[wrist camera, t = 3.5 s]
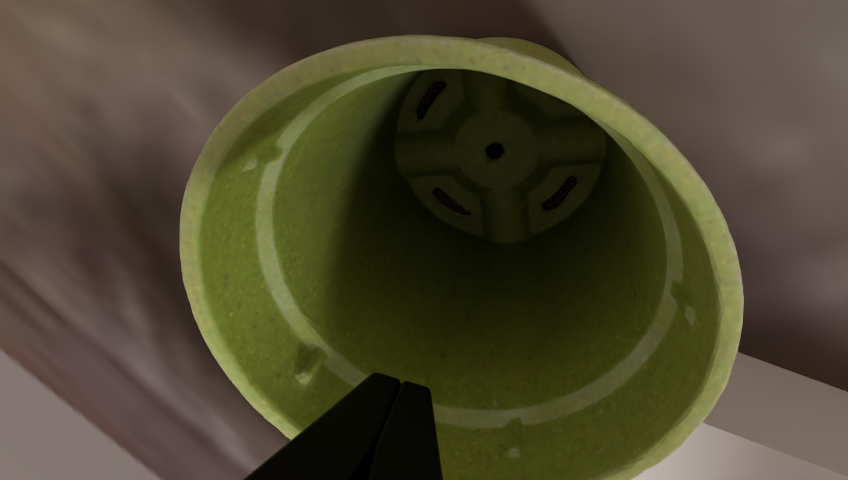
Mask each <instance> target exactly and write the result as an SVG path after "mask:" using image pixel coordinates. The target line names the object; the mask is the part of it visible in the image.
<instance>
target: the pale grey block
mask: <svg viewBox="0 0 848 480" xmlns="http://www.w3.org/2000/svg"><path fill="white" fill-rule="evenodd" d="M632 480H848V392H847V391H844V390H841V389H838V388H836V387H833V386H830V385H827V384H825V383H822V382H819V381H816V380H814V379H811V378H808V377H805V376H803V375H800V374H797V373H794V372H792V371H789V370H786V369H783V368H781V367H778V366H775V365H772V364H770V363H767V362H764V361H761V360H758V359H756V358H753V357H750V356H747V355H745V354H742V353H739V352H737V355H736V357H735V360H734V363H733V367H732V370H731V374H730V377H729V380H728V383H727V385H726V388H725V389H724V391H723V392H722V394H721V396H720V397H719V399H718V401H717V402H716V404H715V406H714V408H713V409H712V411H711V412H710V413H709V415H708V416H707V417H706V418H705V420H704V421H703V422H702V423H701V424H700V426H699V427H697V428H696V429H695V430H694V431H693V432H692V434H691V435H690V436H689V437H688V438H687V439H686V441H685V442H684V443H683V444H682V445H681V446H680V447H679V448H678V449H677V450H675V451H674V452H673V453H671V454H670V455H669V456H668V457H667V458H665V459H664V460H663V461H662V462H660V463H659V464H657V465H656V466H653V467H651V468H649V469H647V470H645V471H643V472H642V473H641V474H640V475H638V476H637V477H636V478H634V479H632Z"/></svg>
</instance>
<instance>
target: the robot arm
mask: <svg viewBox="0 0 848 480" xmlns="http://www.w3.org/2000/svg"><path fill="white" fill-rule="evenodd" d="M243 480H443V475H442V468H441V460H440V453H439V446H438V439H437V432H436V424H435V417H434V410H433V403H432V396H431V391H430V389H429V388H428V387H426V386H423V385H419V384H416V383H412V382H409V381H404V382H403V383H401V382H400V380H399V379H398V378H395V377H392V376H388V375H385V374H381V373H377V372H376V373H372V374H371V375H370V376H368V377H367V378H366V379H365V380H363V381H362V382H361V383H360V384H359V385H357V386H356V387H355V388H354V389H352V390H351V391H350V392H349V393H348V394H346V395H345V396H344V397H343V398H342V399H340V400H339V401H338V402H337V403H335V404H334V405H333V406H332V407H331V408H329V409H328V410H327V411H326V412H325V413H323V414H322V415H321V416H320V417H319V418H317V419H316V420H315V421H314V422H312V423H311V424H310V425H309V426H308V427H306V428H305V429H304V430H303V431H302V432H300V433H299V434H298V435H297V436H295V437H294V438H293V439H292V440H291V441H289V442H288V443H287V444H286V445H285V446H283V447H282V448H281V449H280V450H279V451H277V452H276V453H275V454H274V455H272V456H271V457H270V458H269V459H268V460H266V461H265V462H264V463H263V464H262V465H260V466H259V467H258V468H257V469H255V470H254V471H253V472H252V473H251V474H249V475H248V476H247V477H246V478H245V479H243Z"/></svg>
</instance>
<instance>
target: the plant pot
mask: <svg viewBox="0 0 848 480" xmlns="http://www.w3.org/2000/svg"><path fill="white" fill-rule="evenodd" d="M440 80H441V81H443V82H446V87H445V88H444V89H443V90H442V92H441V93H440V94H439V95H438V96H437V98H436V99H435V100H434V101H433V102H432V104H431V105H430V107H429V109H428V110H427V113H426V114H425V116H424V118H423V119H422V120H421V119H418V117H417V114H416V108H417V106H418V104H419V102H420V100H421V99H422V97H423V96H424V94H425V92H426V90H427V89H428V88H429V87H430V86H431V85H432V83H433V82H438V81H440ZM560 99H561V100H563V101H565V102H562V101H561V100H560ZM494 142H496V143H498V144H500V145H502V147H503V150H504V153H503V155H501V157H500V158H499V159H491V158H489V157H488V156H487V154H486V149H487V147H488V146H489V145H490V144H492V143H494ZM569 176H575V179H576V181H577V184H576V186H575V187H574V188H573V189H572V190H571V191H570V193H569V194H568V195H567V196H566V198H565V200H564V202H563V203H562V204H561V205H559V206H558V207H556V208H555V209H553V210H551V211H548V210H544V209H543V205H542V204H543V203H544V202H545V201H547V200H548V199H549V198H550V197H551V196H552V195H554V194H555V193H556V192H557V191H558V190H559V188H560V187H562V185H563V184H564V183H565V182H566V180H567V178H568V177H569ZM436 187H437V188H440V189H442V190H443V191H444V192H445V193H446V194H447V195H448V196H449V197H450V198H451V199H453V200H454V201H455V202H456V203H458V204H459V205H461V206H463V208H464V210H468V211H469V212H470V215H468V214H467V215H463V214H460V213H456V212H454V211H452V210H450V209H448V208H447V207H445V206H443V205H442V204H441V203H440V202H439V201H438V200H437V199H436V197H435V195H434V193H433V190H434V189H435V188H436ZM179 239H180V259H181V271H182V276H183V283H184V286H185V289H186V292H187V296H188V299H189V302H190V305H191V309H192V313H193V315H194V318H195V320H196V322H197V324H198V327H199V329H200V331H201V334H202V336H203V338H204V340H205V342H206V344H207V345H208V347H209V349H210V351H211V353H212V354H213V356H214V357H215V359H216V360H217V362H218V363H219V365H220V366H221V368H222V369H223V371H224V372H225V373H226V375H227V376H228V378H229V379H230V380H231V381H232V383H233V384H234V385H235V386H236V387H237V389H238V390H239V391H240V392H241V394H242V395H243V396H244V397H245V399H246V400H247V401H248V402H249V403H250V404H251V405H252V406H253V407H254V408H255V409H256V410H257V411H258V412H259V413H260V414H262V416H263V417H264V418H265V419H266V420H268V421H269V422H270V423H271V424H273V425H274V426H275V427H277V428H278V429H279V430H280V431H281V432H282V433H283V434H284V435H285V436H286V437H288V438H289V439H290V440H292V439H293V438H294V437H295V436H297V435H298V434H299V433H300V432H302V431H303V430H304V429H305V428H306V427H308V426H309V425H310V424H311V423H312V422H314V421H315V420H316V419H317V418H319V417H320V416H321V415H322V414H323V413H325V412H326V411H327V410H328V409H329V408H331V407H332V406H333V405H334V404H335V403H337V402H338V401H339V400H340V399H342V398H343V397H344V396H345V395H346V394H348V393H349V392H350V391H351V390H352V389H354V388H355V387H356V386H357V385H359V384H360V383H361V382H362V381H363V380H365V379H366V378H367V377H368V376H370V375H371V374H372V373H376V372H377V373H381V374H385V375H388V376H392V377H395V378H398V379H399V380H400V382H401V383H403V382H404V381H409V382H412V383H416V384H419V385H423V386H426V387H428V388H429V389H430V391H431V396H432V403H433V410H434V417H435V424H436V432H437V439H438V446H439V453H440V460H441V468H442V475H443V480H632V479H634V478H636V477H637V476H638V475H640V474H641V473H642V472H643V471H645V470H647V469H649V468H651V467H653V466H656V465H657V464H659V463H660V462H662V461H663V460H664V459H665V458H667V457H668V456H669V455H670V454H671V453H673V452H674V451H675V450H677V449H678V448H679V447H680V446H681V445H682V444H683V443H684V442H685V441H686V439H687V438H688V437H689V436H690V435H691V434H692V432H693V431H694V430H695V429H696V428H697V427H699V426H700V424H701V423H702V422H703V421H704V420H705V418H706V417H707V416H708V415H709V413H710V412H711V411H712V409H713V408H714V406H715V404H716V402H717V401H718V399H719V397H720V396H721V394H722V392H723V391H724V389H725V388H726V385H727V383H728V380H729V377H730V374H731V370H732V367H733V363H734V360H735V357H736V355H737V352H738V347H739V342H740V336H741V330H742V325H743V308H744V295H743V284H742V276H741V270H740V265H739V261H738V256H737V252H736V248H735V244H734V240H733V238H732V236H731V234H730V232H729V229H728V225H727V223H726V221H725V218H724V216H723V214H722V212H721V210H720V208H719V207H718V205H717V203H716V202H715V200H714V198H713V196H712V194H711V192H710V191H709V189H708V187H707V185H706V184H705V183H704V181H703V180H702V179H701V177H700V176H699V174H698V173H697V172H696V170H695V169H694V168H693V166H692V165H691V164H690V162H689V161H688V160H687V158H686V157H685V156H684V155H683V153H682V152H681V151H680V150H679V149H678V148H677V147H676V146H675V145H674V144H673V142H672V141H671V140H670V139H669V138H668V137H667V136H666V135H665V134H664V133H663V132H662V131H661V130H660V129H659V128H658V127H657V126H656V125H655V124H654V123H653V122H652V121H651V120H649V119H648V118H647V117H645V116H644V115H643V114H642V113H640V112H639V111H638V110H637V109H635V108H634V107H633V106H632V105H630V104H629V103H628V102H627V101H625V100H624V99H622V98H621V97H619V96H617V95H616V94H614V93H612V92H611V91H609V90H607V89H606V88H604V87H602V86H601V85H599V84H598V83H596V82H594V81H592V80H590V79H588V78H586V77H584V76H583V75H582V73H581V72H580V71H579V70H578V69H577V68H576V67H575V66H573V65H572V64H571V63H570V62H569V61H568V60H566V59H565V58H563V57H562V56H560V55H559V54H557V53H556V52H554V51H552V50H550V49H548V48H546V47H543V46H541V45H539V44H536V43H533V42H530V41H527V40H523V39H517V38H509V37H488V38H480V39H471V38H463V37H450V36H435V35H399V36H389V37H380V38H373V39H367V40H362V41H357V42H352V43H348V44H344V45H341V46H337V47H334V48H331V49H328V50H325V51H322V52H320V53H317V54H314V55H312V56H309V57H307V58H305V59H302V60H300V61H298V62H296V63H294V64H292V65H290V66H288V67H286V68H284V69H282V70H280V71H279V72H277V73H276V74H274V75H273V76H271V77H269V78H268V79H266V80H265V81H263V82H261V83H260V84H259V85H257V86H256V87H255V88H253V89H252V90H251V91H250V92H248V93H247V94H246V95H245V96H244V97H243V98H242V99H241V100H240V101H239V102H237V103H236V104H235V105H234V106H233V107H232V108H231V109H230V110H229V111H228V112H227V114H226V115H225V116H224V117H223V119H222V120H221V122H220V123H219V124H218V125H217V126H216V128H215V129H214V130H213V132H212V133H211V135H210V136H209V138H208V140H207V141H206V143H205V145H204V147H203V149H202V151H201V153H200V155H199V157H198V159H197V161H196V163H195V165H194V167H193V170H192V173H191V175H190V178H189V181H188V183H187V185H186V189H185V193H184V197H183V202H182V207H181V214H180V228H179Z"/></svg>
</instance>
